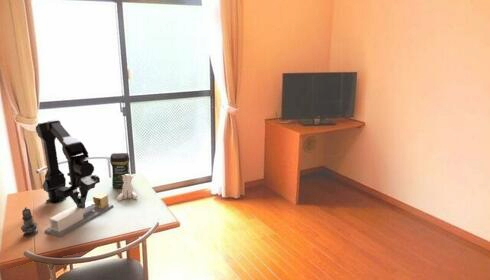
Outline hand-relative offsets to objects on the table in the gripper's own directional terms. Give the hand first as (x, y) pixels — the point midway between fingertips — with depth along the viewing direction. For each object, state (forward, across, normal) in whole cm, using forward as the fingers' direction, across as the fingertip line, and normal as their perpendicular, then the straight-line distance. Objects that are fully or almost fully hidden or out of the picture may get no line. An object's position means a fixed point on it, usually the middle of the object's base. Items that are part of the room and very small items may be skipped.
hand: (81, 203), depth 154 cm
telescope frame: (+7, 0, 0) cm, 7 cm away
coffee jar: (+7, +34, +9) cm, 36 cm away
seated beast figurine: (+7, +25, -3) cm, 26 cm away
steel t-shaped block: (+5, -3, 0) cm, 6 cm away
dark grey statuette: (+7, -18, +9) cm, 22 cm away
